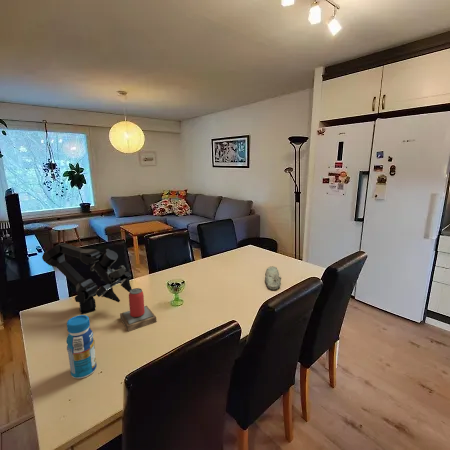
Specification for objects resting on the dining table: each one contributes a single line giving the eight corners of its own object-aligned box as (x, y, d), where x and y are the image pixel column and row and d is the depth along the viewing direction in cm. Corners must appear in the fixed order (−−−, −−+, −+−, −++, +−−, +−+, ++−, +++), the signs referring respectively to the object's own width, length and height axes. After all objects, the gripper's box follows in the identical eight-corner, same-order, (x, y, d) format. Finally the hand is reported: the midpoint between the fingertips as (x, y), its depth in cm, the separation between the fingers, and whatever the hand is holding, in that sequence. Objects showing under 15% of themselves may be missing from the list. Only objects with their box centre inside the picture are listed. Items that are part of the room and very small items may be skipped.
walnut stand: (128, 331, 117) (127, 325, 116) (120, 318, 127) (119, 312, 127) (156, 321, 124) (156, 316, 124) (146, 310, 135) (146, 304, 134)
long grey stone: (279, 271, 190) (265, 271, 191) (279, 264, 189) (264, 264, 191) (282, 290, 156) (265, 290, 157) (282, 282, 155) (265, 282, 156)
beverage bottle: (64, 375, 92) (57, 323, 88) (85, 359, 100) (79, 311, 96) (83, 382, 89) (76, 329, 85) (102, 365, 97) (97, 316, 93)
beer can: (136, 309, 130) (135, 286, 127) (147, 312, 127) (146, 289, 124) (127, 316, 124) (125, 292, 121) (138, 319, 121) (136, 295, 119)
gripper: (99, 269, 115) (122, 296, 114) (126, 256, 132) (147, 279, 131) (86, 283, 119) (108, 310, 118) (114, 269, 136) (134, 292, 135)
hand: (125, 297), depth 125 cm, fingers open, 9 cm apart
